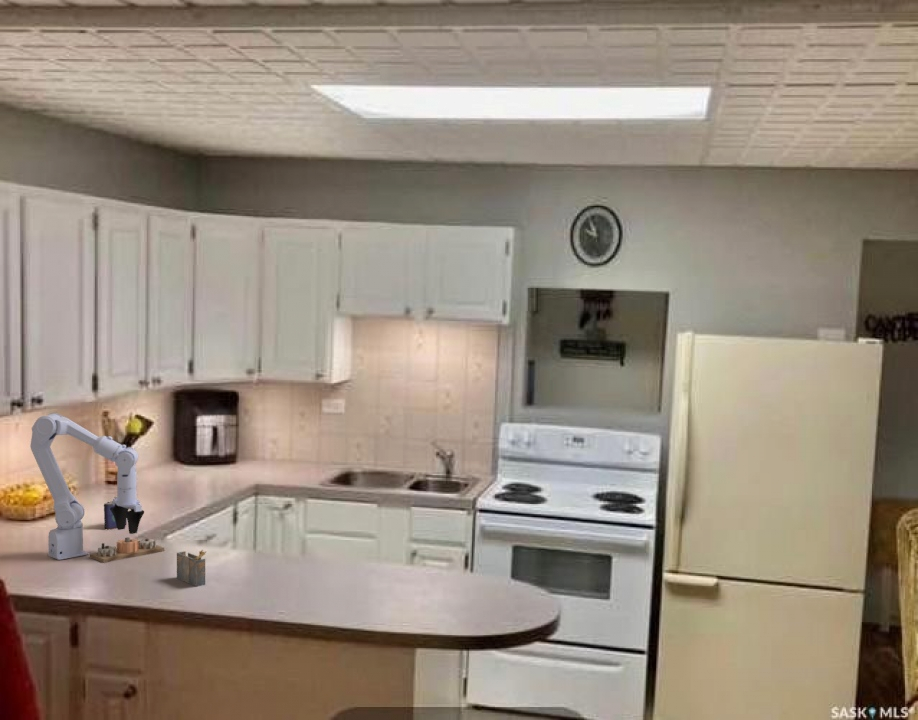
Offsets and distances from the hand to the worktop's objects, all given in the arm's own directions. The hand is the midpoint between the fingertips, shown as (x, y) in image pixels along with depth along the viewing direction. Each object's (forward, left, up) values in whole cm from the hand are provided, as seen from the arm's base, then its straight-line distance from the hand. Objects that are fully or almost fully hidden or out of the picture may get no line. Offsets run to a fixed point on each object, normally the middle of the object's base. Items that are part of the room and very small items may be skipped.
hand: (127, 531), depth 294 cm
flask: (+15, +37, -7) cm, 41 cm away
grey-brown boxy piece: (-2, -40, -8) cm, 41 cm away
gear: (0, 0, -6) cm, 6 cm away
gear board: (0, 0, -7) cm, 7 cm away
